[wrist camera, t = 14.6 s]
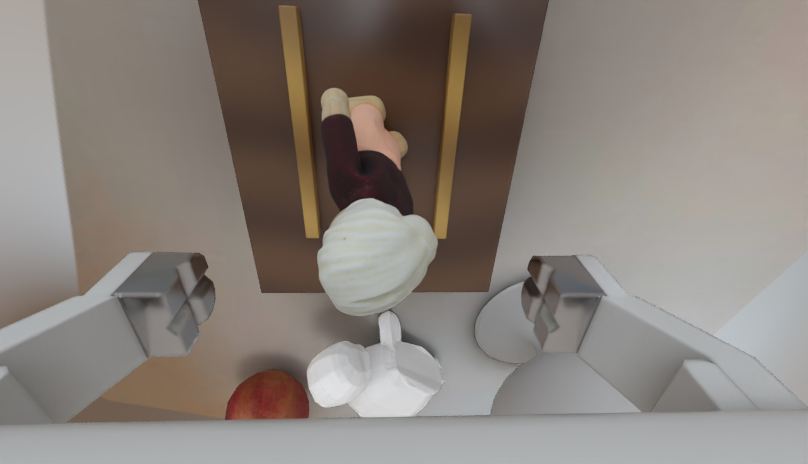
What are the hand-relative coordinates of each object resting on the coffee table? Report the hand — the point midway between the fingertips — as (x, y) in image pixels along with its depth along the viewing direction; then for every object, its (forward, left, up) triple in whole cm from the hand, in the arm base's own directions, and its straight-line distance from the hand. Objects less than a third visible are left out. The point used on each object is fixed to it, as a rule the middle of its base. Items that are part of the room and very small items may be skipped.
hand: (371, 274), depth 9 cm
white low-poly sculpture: (+24, 0, -19) cm, 31 cm away
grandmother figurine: (0, 0, -12) cm, 12 cm away
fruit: (+29, -11, -19) cm, 37 cm away
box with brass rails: (0, 0, -19) cm, 19 cm away
